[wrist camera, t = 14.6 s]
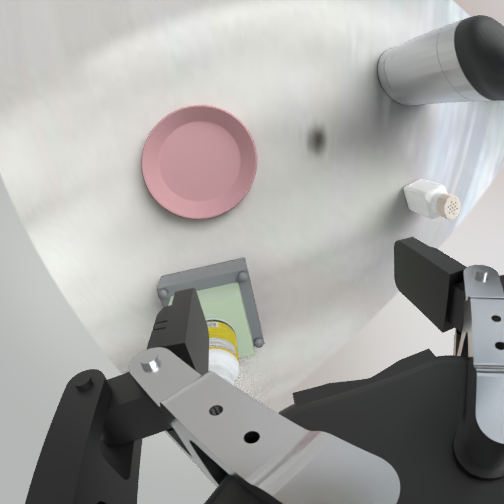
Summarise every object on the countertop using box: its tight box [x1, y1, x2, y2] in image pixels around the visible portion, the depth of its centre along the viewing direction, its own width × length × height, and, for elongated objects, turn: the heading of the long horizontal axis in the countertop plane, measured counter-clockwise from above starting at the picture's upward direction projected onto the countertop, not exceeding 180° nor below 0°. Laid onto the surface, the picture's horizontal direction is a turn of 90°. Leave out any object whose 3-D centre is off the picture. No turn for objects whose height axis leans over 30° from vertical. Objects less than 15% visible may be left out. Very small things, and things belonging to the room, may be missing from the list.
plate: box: [142, 105, 257, 219], centre depth 38 cm, size 14×14×2 cm
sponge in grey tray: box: [157, 258, 264, 359], centre depth 42 cm, size 12×12×8 cm
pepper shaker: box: [404, 179, 461, 220], centre depth 38 cm, size 4×4×10 cm
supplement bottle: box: [205, 318, 240, 386], centre depth 33 cm, size 5×5×10 cm
